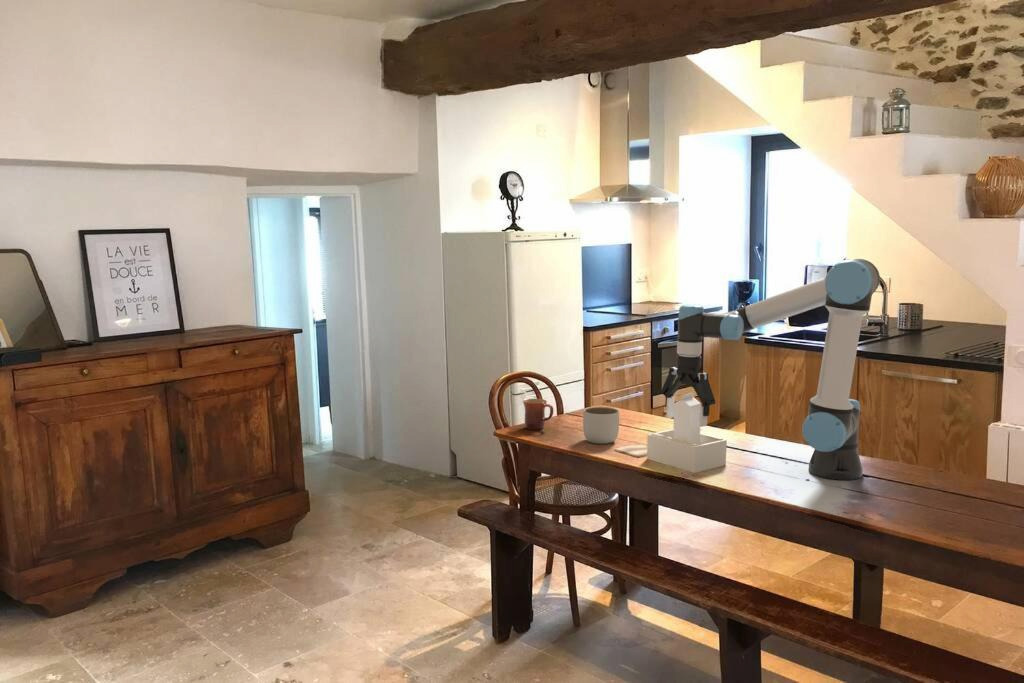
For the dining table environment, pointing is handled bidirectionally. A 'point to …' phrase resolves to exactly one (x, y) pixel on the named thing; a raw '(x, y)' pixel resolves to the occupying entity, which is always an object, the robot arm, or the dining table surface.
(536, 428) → the mug
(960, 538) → the dining table surface
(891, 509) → the dining table surface
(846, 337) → the robot arm
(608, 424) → the planter
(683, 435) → the milk
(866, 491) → the dining table surface
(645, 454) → the mat
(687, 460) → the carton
